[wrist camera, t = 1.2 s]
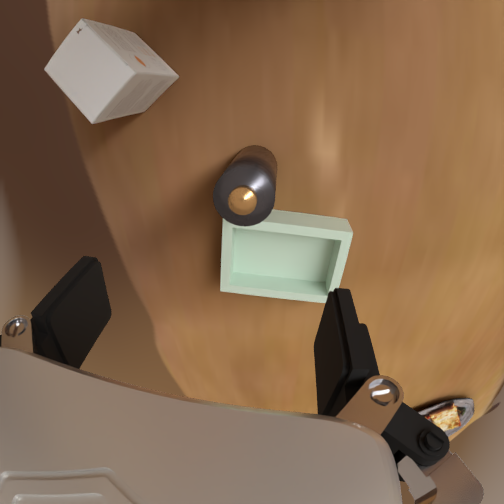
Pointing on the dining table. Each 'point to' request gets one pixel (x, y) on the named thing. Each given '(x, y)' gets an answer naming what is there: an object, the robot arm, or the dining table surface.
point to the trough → (285, 256)
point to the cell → (247, 187)
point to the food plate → (450, 414)
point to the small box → (108, 71)
